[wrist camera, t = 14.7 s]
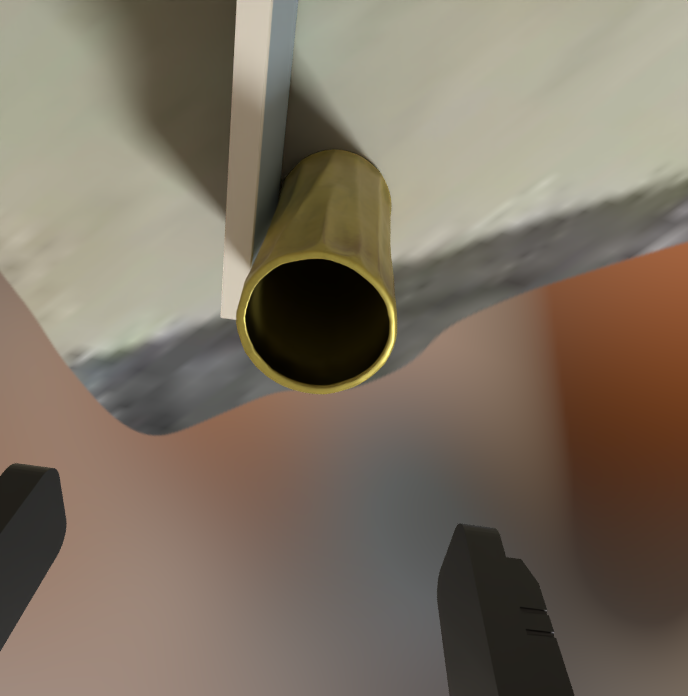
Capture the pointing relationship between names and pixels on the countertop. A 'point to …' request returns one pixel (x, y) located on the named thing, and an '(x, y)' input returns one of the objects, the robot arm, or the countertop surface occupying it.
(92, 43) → the countertop surface
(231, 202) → the grey flat panel
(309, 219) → the vase
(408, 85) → the countertop surface
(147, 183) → the countertop surface
